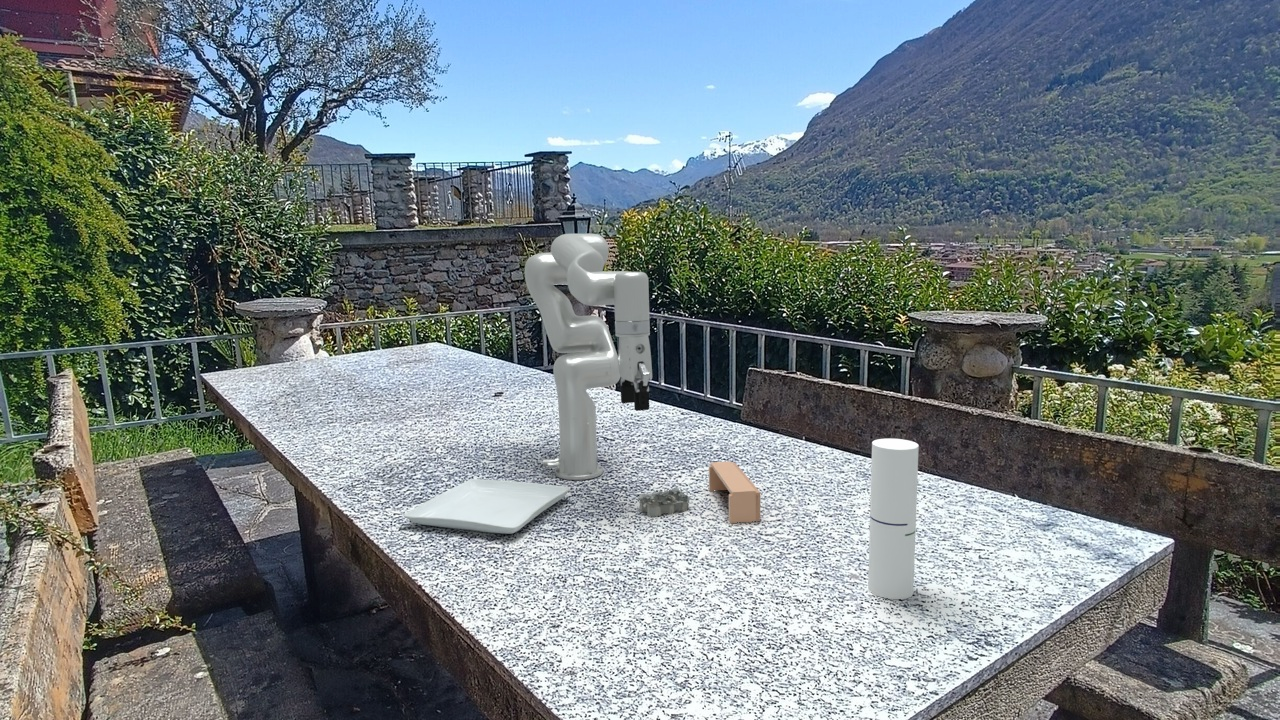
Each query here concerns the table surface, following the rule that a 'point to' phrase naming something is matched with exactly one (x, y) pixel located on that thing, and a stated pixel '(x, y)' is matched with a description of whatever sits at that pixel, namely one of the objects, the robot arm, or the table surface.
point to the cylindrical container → (893, 518)
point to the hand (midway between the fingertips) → (634, 406)
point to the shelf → (736, 491)
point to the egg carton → (664, 502)
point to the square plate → (488, 505)
